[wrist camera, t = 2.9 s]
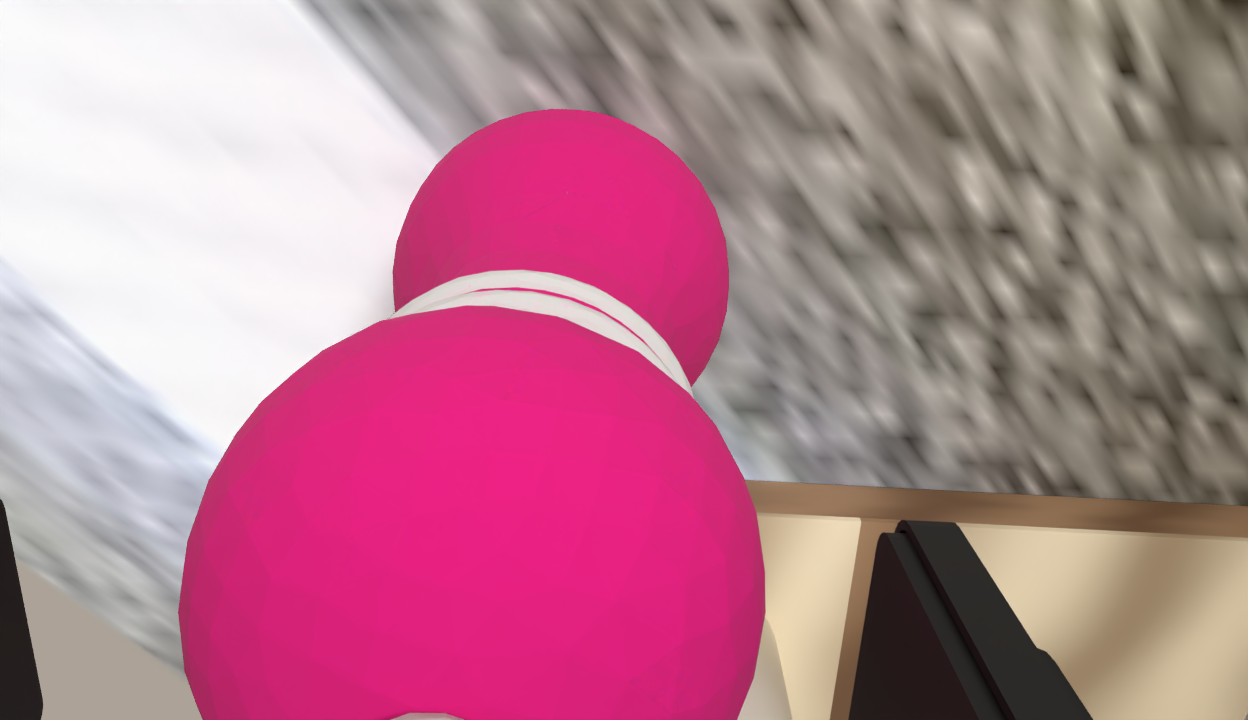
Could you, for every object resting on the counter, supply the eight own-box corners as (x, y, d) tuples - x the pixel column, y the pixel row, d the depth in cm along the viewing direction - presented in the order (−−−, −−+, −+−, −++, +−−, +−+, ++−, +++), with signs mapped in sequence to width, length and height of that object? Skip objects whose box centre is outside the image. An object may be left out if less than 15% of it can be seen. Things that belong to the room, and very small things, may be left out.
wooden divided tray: (1262, 507, 28) (1307, 544, 26) (1173, 775, 31) (1206, 825, 29) (498, 467, 28) (488, 502, 26) (498, 741, 31) (489, 789, 29)
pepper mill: (755, 141, 24) (1142, 670, 6) (662, 393, 27) (714, 1334, 8) (477, 49, 23) (-150, 296, 5) (409, 315, 26) (-176, 1154, 7)
